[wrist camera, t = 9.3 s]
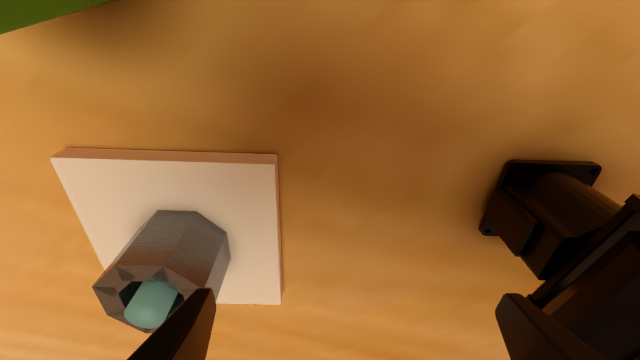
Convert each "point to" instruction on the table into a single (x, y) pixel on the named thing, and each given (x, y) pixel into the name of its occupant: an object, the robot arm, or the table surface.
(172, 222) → the steel collar
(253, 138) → the table surface
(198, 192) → the post block
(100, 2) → the cup
